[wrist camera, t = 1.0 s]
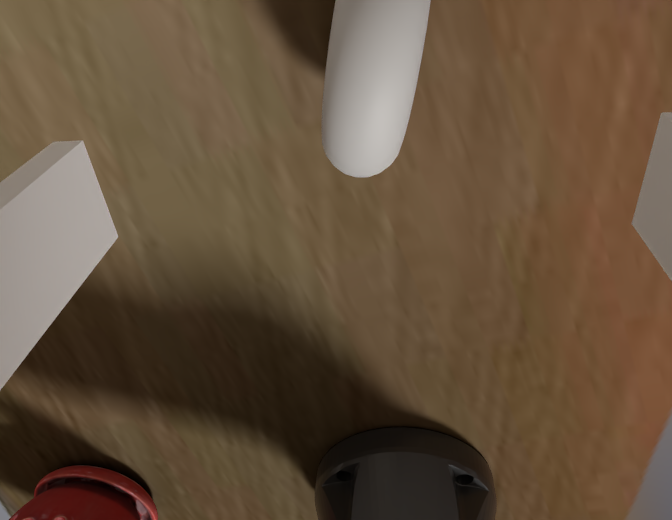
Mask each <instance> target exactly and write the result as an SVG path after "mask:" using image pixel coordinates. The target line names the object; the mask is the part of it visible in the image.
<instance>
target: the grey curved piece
mask: <svg viewBox="0 0 672 520" xmlns="http://www.w3.org/2000/svg"><path fill="white" fill-rule="evenodd" d="M430 1H431V0H336V1H335V7H334V12H333V19H332V26H331V33H330V40H329V47H328V56H327V64H326V72H325V82H324V93H323V107H322V144H323V147H324V150H325V153H326V156H327V157H328V158H329V160H330V161H331V163H332V164H333V165H334V166H335V167H336V168H337V169H339V170H340V171H341V172H343V173H344V174H347V175H350V176H353V177H370V176H373V175H376V174H379V173H380V172H382V171H383V170H385V169H386V168H387V167H389V166H390V165H391V164H392V162H393V161H394V160H395V158H396V157H397V156H398V154H399V151H400V148H401V145H402V142H403V139H404V135H405V132H406V128H407V124H408V121H409V117H410V113H411V108H412V103H413V99H414V94H415V90H416V85H417V80H418V74H419V69H420V64H421V59H422V53H423V47H424V41H425V35H426V29H427V22H428V15H429V8H430Z"/></svg>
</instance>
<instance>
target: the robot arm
mask: <svg viewBox="0 0 672 520" xmlns="http://www.w3.org/2000/svg"><path fill="white" fill-rule="evenodd" d="M632 225H633V226H634V228H635V229H636V231H637V232H638V234H639V235H640V236H641V238H642V239H643V241H644V242H645V244H646V245H647V246H648V248H649V249H650V251H651V252H652V254H653V255H654V256H655V258H656V259H657V261H658V262H659V264H660V265H661V266H662V268H663V269H664V271H665V272H666V274H667V275H668V276H669V278H670V279H671V281H672V112H669V113H661V116H660V120H659V124H658V127H657V131H656V135H655V139H654V142H653V146H652V150H651V154H650V157H649V161H648V165H647V169H646V172H645V176H644V180H643V184H642V187H641V191H640V195H639V199H638V203H637V206H636V210H635V214H634V218H633V221H632ZM117 238H118V235H117V232H116V229H115V227H114V224H113V221H112V218H111V216H110V213H109V210H108V208H107V205H106V202H105V199H104V197H103V194H102V191H101V189H100V186H99V183H98V180H97V178H96V175H95V172H94V170H93V167H92V164H91V161H90V159H89V156H88V153H87V150H86V148H85V145H84V142H83V140H82V141H61V142H52V143H51V144H50V145H49V146H47V147H46V148H45V149H43V150H42V151H41V152H39V153H38V154H37V155H35V156H34V157H33V158H32V159H30V160H29V161H28V162H26V163H25V164H24V165H22V166H21V167H20V168H19V169H17V170H16V171H15V172H13V173H12V174H11V175H9V176H8V177H7V178H6V179H4V180H3V181H2V182H0V390H1V389H2V387H3V386H4V385H5V383H6V382H7V381H8V379H9V378H10V377H11V376H12V374H13V373H14V372H15V370H16V369H17V368H18V366H19V365H20V364H21V363H22V361H23V360H24V359H25V357H26V356H27V355H28V354H29V352H30V351H31V350H32V348H33V347H34V346H35V344H36V343H37V342H38V341H39V339H40V338H41V337H42V335H43V334H44V333H45V331H46V330H47V329H48V328H49V326H50V325H51V324H52V322H53V321H54V320H55V318H56V317H57V316H58V315H59V313H60V312H61V311H62V309H63V308H64V307H65V305H66V304H67V303H68V302H69V300H70V299H71V298H72V296H73V295H74V294H75V293H76V291H77V290H78V289H79V287H80V286H81V285H82V283H83V282H84V281H85V280H86V278H87V277H88V276H89V274H90V273H91V272H92V270H93V269H94V268H95V267H96V265H97V264H98V263H99V261H100V260H101V259H102V257H103V256H104V255H105V254H106V252H107V251H108V250H109V248H110V247H111V246H112V244H113V243H114V242H115V241H116V239H117ZM315 506H316V511H317V515H318V520H495V514H496V494H495V488H494V483H493V477H492V473H491V470H490V468H489V466H488V464H487V462H486V461H485V460H484V458H483V457H482V456H481V455H480V454H479V453H478V452H477V451H475V450H474V449H473V448H471V447H470V446H468V445H467V444H465V443H463V442H462V441H460V440H458V439H455V438H453V437H451V436H448V435H445V434H442V433H439V432H435V431H430V430H425V429H418V428H405V427H395V428H383V429H376V430H371V431H367V432H363V433H360V434H357V435H354V436H352V437H349V438H347V439H345V440H343V441H341V442H340V443H338V444H337V445H335V446H334V447H333V448H332V449H330V450H329V451H328V452H327V454H326V455H325V456H324V457H323V459H322V460H321V462H320V465H319V467H318V471H317V479H316V487H315Z"/></svg>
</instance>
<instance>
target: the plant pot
mask: <svg viewBox="0 0 672 520" xmlns="http://www.w3.org/2000/svg"><path fill="white" fill-rule="evenodd" d="M9 520H158V513H157V509H156V506H155V504H154V502H153V500H152V498H151V497H150V495H149V494H148V493H147V492H146V491H145V490H144V489H143V488H142V487H141V486H140V485H139V484H137V483H136V482H135V481H133V480H132V479H130V478H128V477H126V476H124V475H122V474H120V473H118V472H115V471H112V470H109V469H105V468H101V467H96V466H85V465H77V466H68V467H64V468H60V469H57V470H55V471H53V472H51V473H49V474H48V475H46V476H45V477H43V478H42V479H41V480H40V481H39V483H38V484H37V486H36V488H35V491H34V498H33V499H32V500H31V501H29V502H28V503H27V504H25V505H24V506H23V507H22V508H21V509H19V510H18V511H17V512H16V513H15V514H14V515H13V516H12V517H11V518H10V519H9Z"/></svg>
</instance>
